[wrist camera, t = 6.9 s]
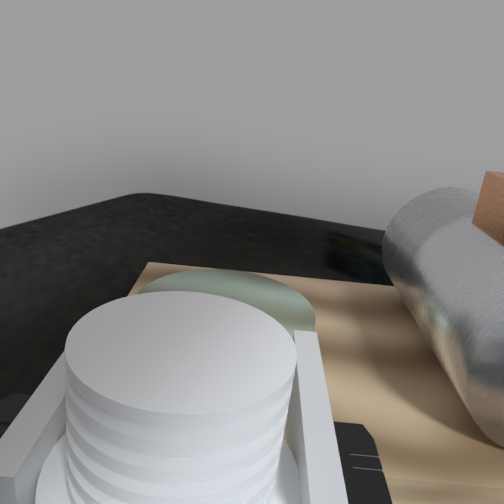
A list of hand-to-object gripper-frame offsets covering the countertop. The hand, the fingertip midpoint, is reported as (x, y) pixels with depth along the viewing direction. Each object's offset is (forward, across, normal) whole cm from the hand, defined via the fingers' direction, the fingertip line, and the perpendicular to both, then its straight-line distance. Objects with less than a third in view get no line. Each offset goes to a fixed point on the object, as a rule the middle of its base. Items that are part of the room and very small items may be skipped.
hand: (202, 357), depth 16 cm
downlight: (-5, 0, -6) cm, 8 cm away
